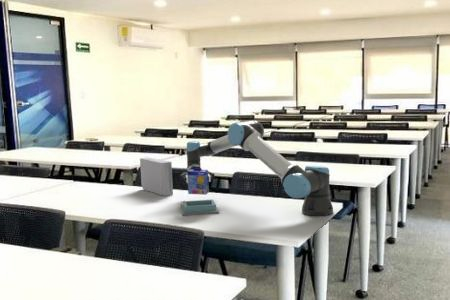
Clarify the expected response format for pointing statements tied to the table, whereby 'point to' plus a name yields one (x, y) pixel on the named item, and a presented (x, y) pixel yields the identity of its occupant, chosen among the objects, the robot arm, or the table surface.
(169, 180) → the game console
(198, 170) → the ink cartridge box
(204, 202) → the cradle
